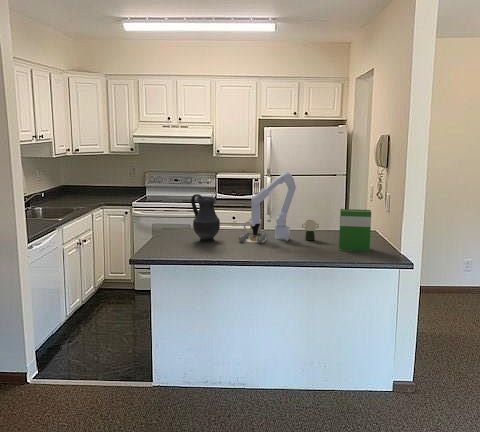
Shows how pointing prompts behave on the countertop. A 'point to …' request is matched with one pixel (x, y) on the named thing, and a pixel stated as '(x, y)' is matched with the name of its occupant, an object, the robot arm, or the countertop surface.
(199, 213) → the pitcher
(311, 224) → the character mug
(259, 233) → the mug
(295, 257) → the countertop surface
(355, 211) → the green cereal box
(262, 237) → the spacers
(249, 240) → the plate
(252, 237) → the faceted gold polyhedron
